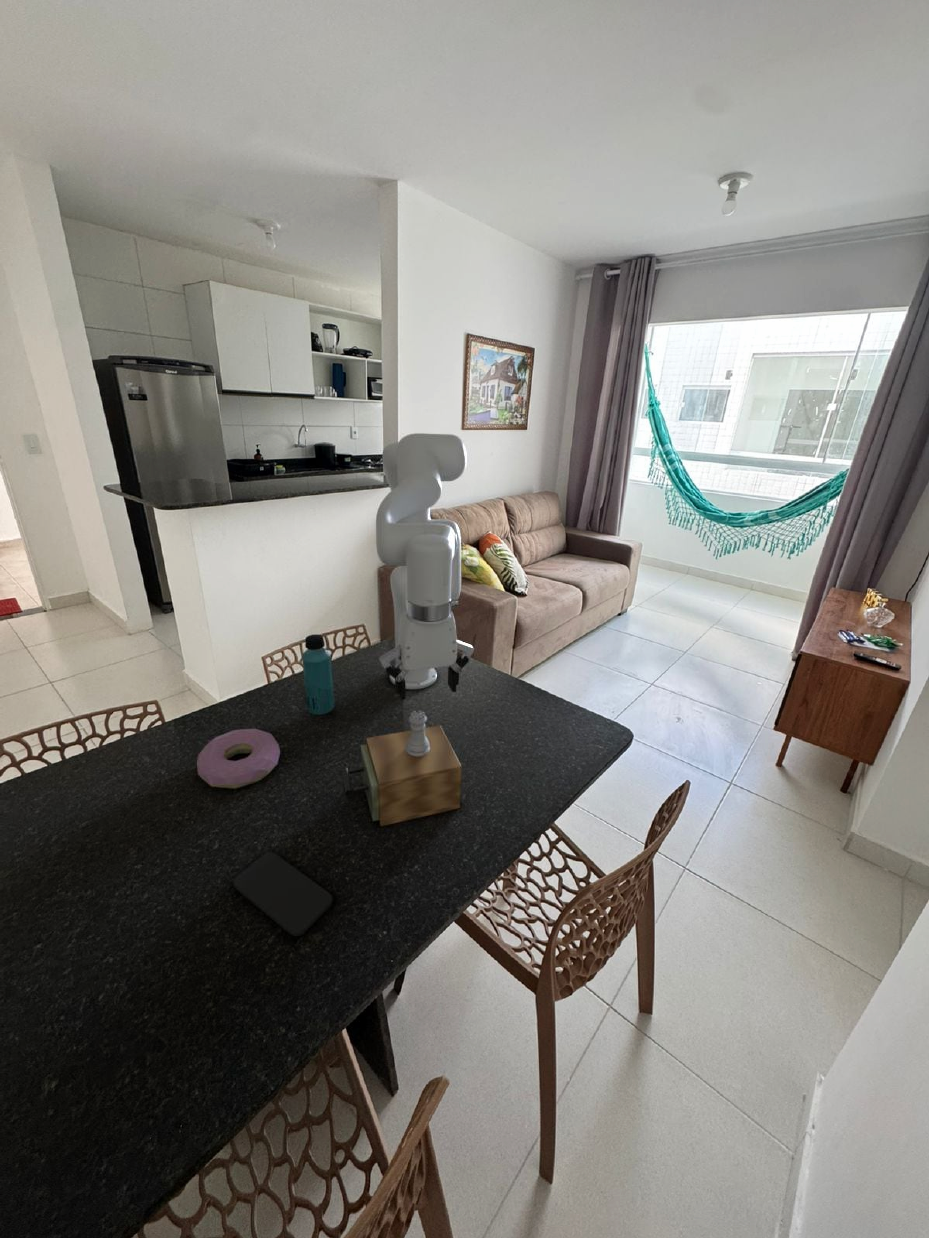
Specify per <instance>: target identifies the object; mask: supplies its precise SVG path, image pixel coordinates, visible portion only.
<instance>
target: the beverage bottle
mask: <svg viewBox="0 0 929 1238" xmlns="http://www.w3.org/2000/svg"><path fill="white" fill-rule="evenodd" d="M304 640H305V642H304V646H305V649H306V650H305V651H304V652H302V655H301V661H302V676H303V681H304V692H305V693H304V695H305V696H304V697H305V704H306V708H307V710H308V712H309V713H310V714H311V715H312V714H313V715H317V716H319V715H325V714H328V713H330V712H332V711H333V710H334V707H335V700H336V699H335V694H334V693H335V692H334V691H335V689H334V683H333V680H334V679H333V676H332V674H333V673H332V663H331V653H330V651H329V650H328V649H326V648H325V639H324V636H323V635H322V634H309V635H307V636H305V639H304Z"/></svg>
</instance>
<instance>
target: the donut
mask: <svg viewBox="0 0 929 1238" xmlns="http://www.w3.org/2000/svg"><path fill="white" fill-rule="evenodd" d="M246 754H249V755H248V756H247V757H244V758H241V759H238V760H231V759H232V758H233V757H235V756H237V755H246ZM280 755H281V749H280V744H279V743H278V742H277V740H276V739H275V737H274V736H273V734H272V733H270V732H267V731H264V730H260V729H258V728H243V729H235V730H234V729H232V730H231V731H228V732H226V733H224V734H221V735H218V736H215V737H214V738H213V739H211V740H210V741H209V742H207V744H205V746H204V747H203V748H202V750H201V751H200V752H199V753H198V755H197V759H196V768H197V769H196V770H197V775H198V776H199V777H200V778H201V779H202V780H203V781H204V782H205V783H206V784H208V785H209V786H210V787H212V788H222V789H234V790H236V789H239V788H242V787H245V786H248V785H251V784H254V783H256V782H259V781H261V780H262V779H265V778H266V777H267V776H268V775H269V774H270V773H271V772H272V771H273V770H274V768H275V767H277V765H278V764H279V759H280Z"/></svg>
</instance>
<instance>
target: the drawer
mask: <svg viewBox="0 0 929 1238" xmlns="http://www.w3.org/2000/svg"><path fill="white" fill-rule="evenodd" d="M360 761H361V762H360V763H361V766H360V767H355V768H350V769H349V768H347V767H343V768H341V769H340V776H341V780H342V785H343V791H344V795H345V796H346V797H351V796H352V795H353V794H355V793H357V792H363V791H365V795H366V798H367V799H366V800H367V804H368V807H369V811H370V815H371V819H372V821H373V822H376V821H379V820H380V816H379V787H378V782H377V777H376V775H375V771H374V768H373V764H372V761H371V757H370V754H369V750H368V747H367V744H366V743H365V744H360ZM357 773H361V780H362V783H363V785H361V786H355V787H353V785H352V780H351V776H350V775H352V774H357Z"/></svg>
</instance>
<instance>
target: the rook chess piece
mask: <svg viewBox="0 0 929 1238" xmlns="http://www.w3.org/2000/svg"><path fill="white" fill-rule="evenodd" d="M417 711H418V712H417ZM408 721H409V722H410V725H409V727H410V731H411V734H410V737H409V739H408V740H407V742H406V752H407V753H408V754H409V755H411V756H413V757H422V756H424V755H426V754H427V753H428V752H429V749H430V747H429V741H428V740H427V737H426V736H425V731H424V730H425V728H426V722H427V721H428V717H427V716H426V713H425V712H424V711H422V710H420V709H418V710H413V712H410V716H409V717H408Z"/></svg>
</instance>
